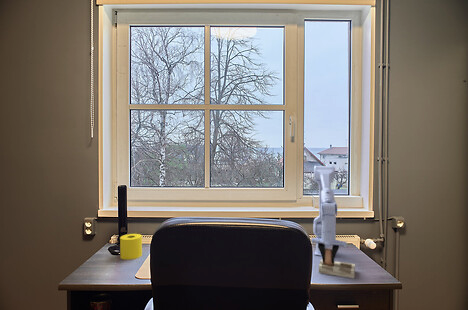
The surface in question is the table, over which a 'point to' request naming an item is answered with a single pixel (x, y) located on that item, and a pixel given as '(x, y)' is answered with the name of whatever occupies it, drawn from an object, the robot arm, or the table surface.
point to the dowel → (328, 257)
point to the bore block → (338, 269)
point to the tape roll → (130, 246)
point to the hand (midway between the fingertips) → (328, 261)
